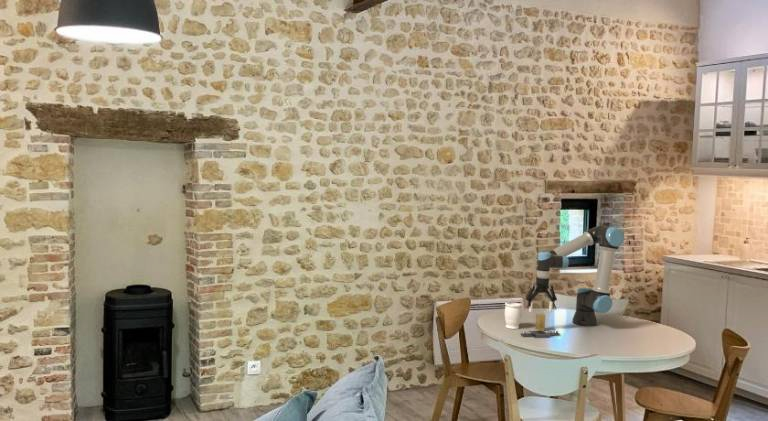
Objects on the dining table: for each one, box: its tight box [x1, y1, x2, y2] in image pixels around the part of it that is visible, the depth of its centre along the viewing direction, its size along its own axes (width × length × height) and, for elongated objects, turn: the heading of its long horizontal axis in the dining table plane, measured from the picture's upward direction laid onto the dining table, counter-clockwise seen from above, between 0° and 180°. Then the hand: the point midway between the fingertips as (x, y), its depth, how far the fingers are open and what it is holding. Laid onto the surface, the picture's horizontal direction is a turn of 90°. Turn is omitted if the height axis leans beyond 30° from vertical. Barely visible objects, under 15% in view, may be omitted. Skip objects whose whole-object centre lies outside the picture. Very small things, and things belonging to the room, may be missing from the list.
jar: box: [504, 301, 523, 330], centre depth 414 cm, size 11×10×15 cm
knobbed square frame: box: [520, 330, 560, 339], centre depth 396 cm, size 24×9×2 cm, turn 106°
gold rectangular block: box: [534, 313, 546, 332], centre depth 409 cm, size 4×4×10 cm
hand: (540, 311), depth 409 cm, fingers open, 13 cm apart
